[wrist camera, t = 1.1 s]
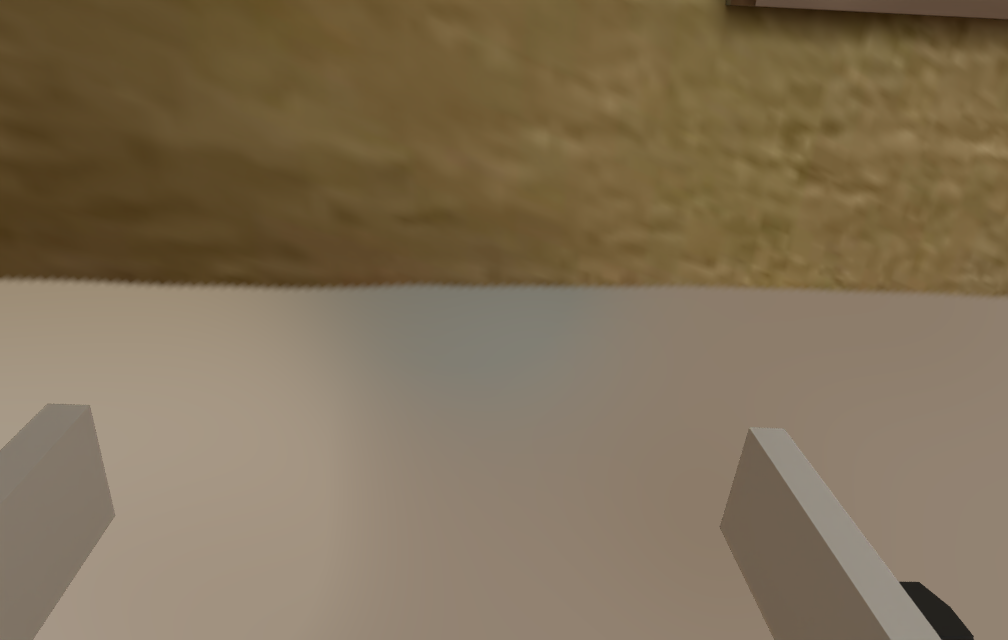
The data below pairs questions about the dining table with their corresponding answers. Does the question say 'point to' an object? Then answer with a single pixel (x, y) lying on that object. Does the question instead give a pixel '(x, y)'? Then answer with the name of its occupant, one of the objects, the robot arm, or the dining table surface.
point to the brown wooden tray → (894, 6)
